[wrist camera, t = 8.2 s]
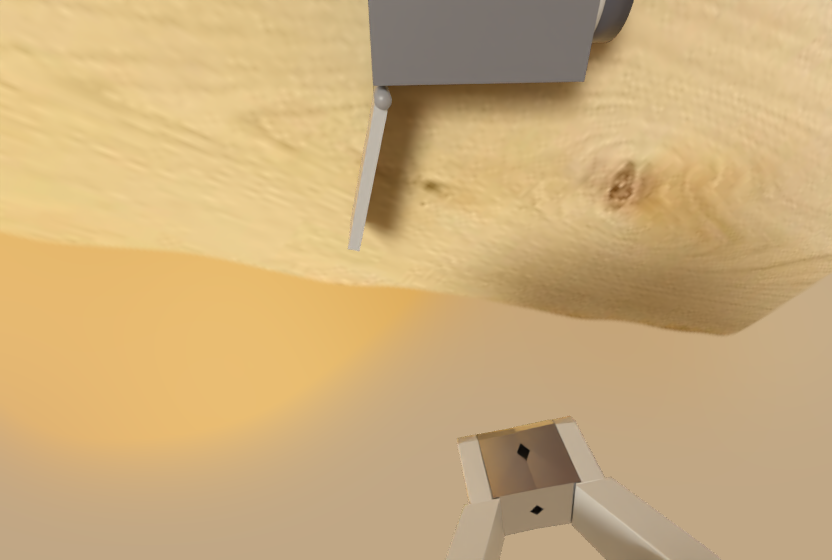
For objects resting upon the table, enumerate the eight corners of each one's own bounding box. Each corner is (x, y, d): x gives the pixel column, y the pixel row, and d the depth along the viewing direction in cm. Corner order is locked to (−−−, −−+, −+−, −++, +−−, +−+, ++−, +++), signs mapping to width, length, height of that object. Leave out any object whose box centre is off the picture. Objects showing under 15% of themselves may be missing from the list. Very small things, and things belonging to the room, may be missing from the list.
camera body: (598, -77, 24) (680, -115, 18) (571, 71, 29) (629, 83, 22) (363, -80, 23) (361, -122, 17) (372, 75, 27) (373, 89, 21)
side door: (362, 219, 32) (360, 254, 27) (350, 216, 32) (346, 251, 27) (389, 81, 27) (393, 93, 22) (374, 77, 27) (376, 88, 22)
